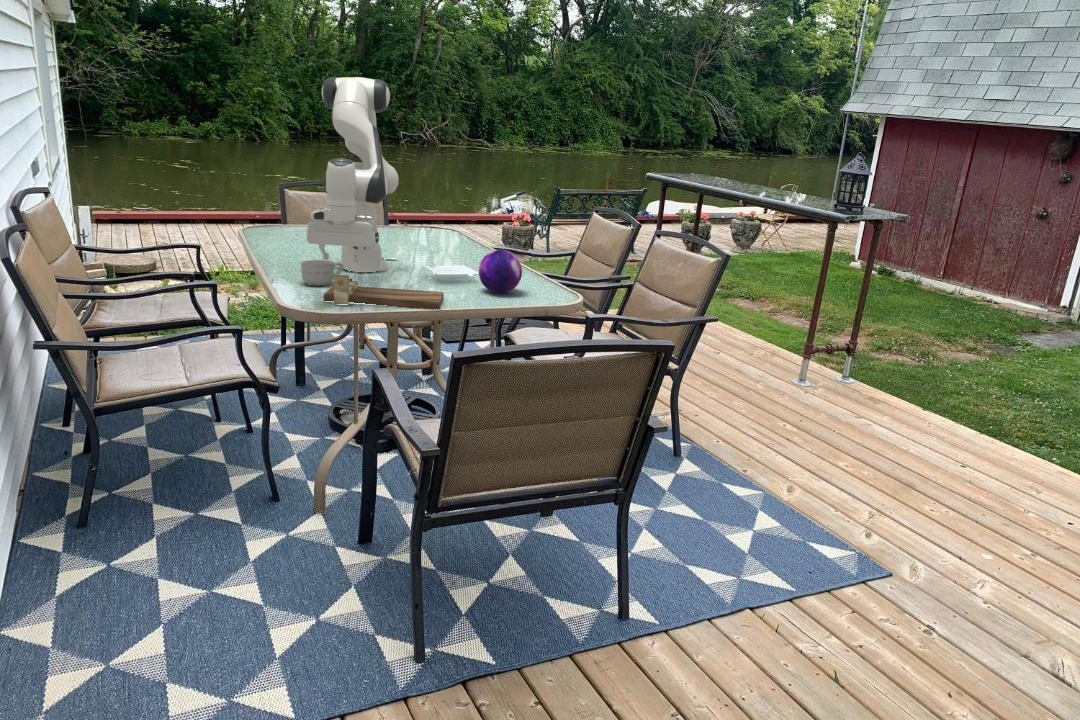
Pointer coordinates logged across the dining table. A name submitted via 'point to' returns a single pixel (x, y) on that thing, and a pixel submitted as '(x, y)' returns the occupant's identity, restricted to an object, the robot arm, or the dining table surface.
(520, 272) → the decorative orb
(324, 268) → the teacup
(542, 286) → the dining table surface
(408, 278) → the dining table surface
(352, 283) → the marking gauge
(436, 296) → the oak plank
